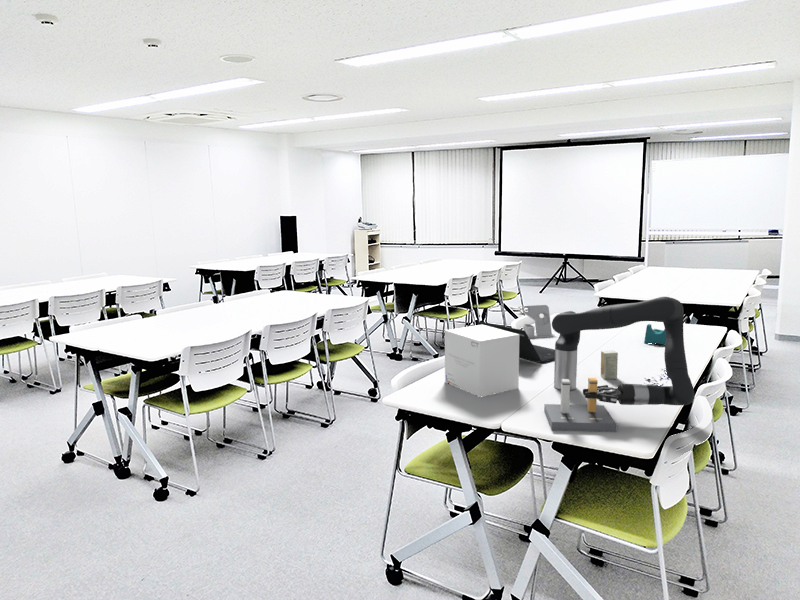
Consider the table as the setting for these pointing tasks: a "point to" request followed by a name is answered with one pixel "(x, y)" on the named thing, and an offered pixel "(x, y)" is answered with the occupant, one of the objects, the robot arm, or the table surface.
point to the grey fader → (565, 395)
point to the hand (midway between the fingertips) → (584, 393)
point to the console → (579, 418)
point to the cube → (482, 359)
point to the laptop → (527, 345)
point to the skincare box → (609, 364)
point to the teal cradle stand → (655, 335)
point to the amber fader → (592, 388)
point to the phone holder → (538, 321)
